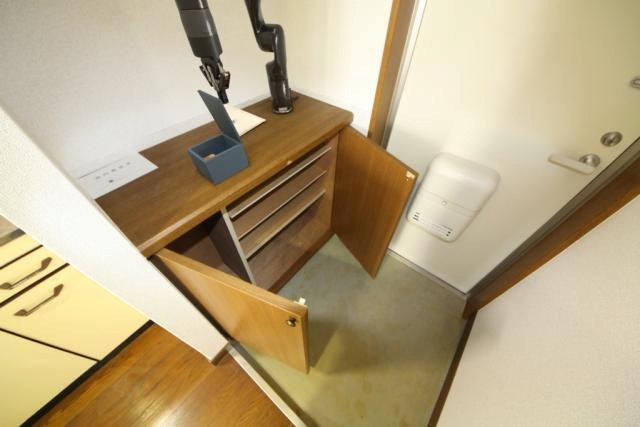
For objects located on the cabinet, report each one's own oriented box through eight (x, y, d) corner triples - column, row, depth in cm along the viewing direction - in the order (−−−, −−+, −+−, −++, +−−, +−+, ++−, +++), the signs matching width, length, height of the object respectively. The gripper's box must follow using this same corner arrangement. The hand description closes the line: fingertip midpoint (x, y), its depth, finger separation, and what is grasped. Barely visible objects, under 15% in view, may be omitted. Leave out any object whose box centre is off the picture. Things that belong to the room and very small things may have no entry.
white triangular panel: (255, 103, 103) (214, 103, 90) (263, 102, 99) (222, 101, 86) (262, 137, 109) (224, 142, 95) (269, 136, 105) (231, 141, 91)
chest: (215, 184, 74) (204, 162, 67) (197, 170, 79) (186, 149, 73) (249, 165, 81) (242, 143, 74) (230, 153, 86) (222, 132, 79)
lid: (218, 100, 61) (220, 99, 62) (197, 90, 67) (199, 89, 67) (240, 143, 73) (242, 141, 74) (221, 131, 79) (223, 130, 79)
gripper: (229, 32, 55) (247, 104, 68) (201, 27, 61) (223, 94, 74) (201, 38, 51) (226, 113, 64) (175, 31, 57) (203, 101, 70)
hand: (224, 103), depth 69 cm, fingers closed
